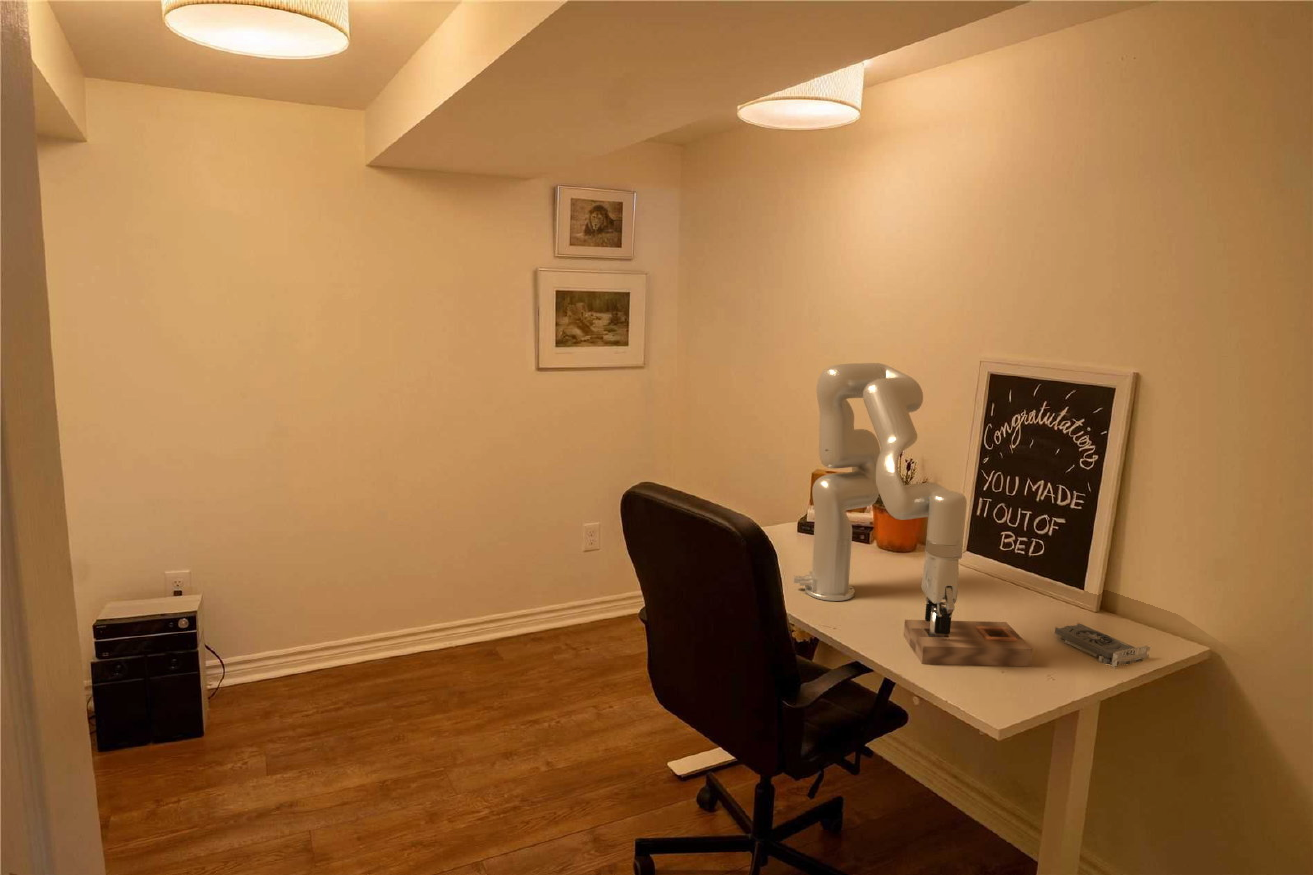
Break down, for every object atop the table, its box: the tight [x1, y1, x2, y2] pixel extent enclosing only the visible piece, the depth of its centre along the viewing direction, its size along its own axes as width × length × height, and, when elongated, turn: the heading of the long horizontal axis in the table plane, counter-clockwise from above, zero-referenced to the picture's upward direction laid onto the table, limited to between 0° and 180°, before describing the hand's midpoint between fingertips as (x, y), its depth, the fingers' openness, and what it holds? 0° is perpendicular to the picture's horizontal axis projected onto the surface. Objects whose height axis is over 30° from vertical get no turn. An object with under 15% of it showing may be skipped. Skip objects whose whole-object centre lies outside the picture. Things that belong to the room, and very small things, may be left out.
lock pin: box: [929, 605, 946, 637], centre depth 181 cm, size 3×3×10 cm
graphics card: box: [1054, 622, 1151, 669], centre depth 185 cm, size 17×4×12 cm
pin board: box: [903, 619, 1033, 668], centre depth 182 cm, size 23×14×4 cm, turn 89°
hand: (937, 626), depth 181 cm, fingers open, 5 cm apart
